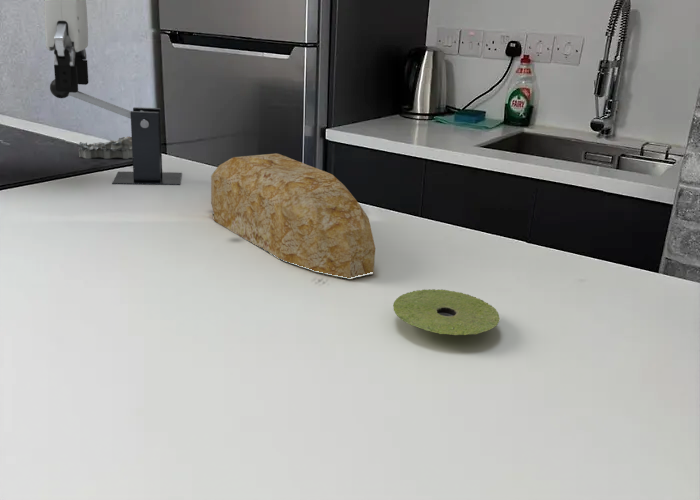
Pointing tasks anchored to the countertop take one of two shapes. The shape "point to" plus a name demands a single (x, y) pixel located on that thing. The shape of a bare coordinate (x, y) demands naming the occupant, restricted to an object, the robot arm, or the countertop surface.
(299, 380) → the countertop surface
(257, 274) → the countertop surface
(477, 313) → the green disc with hole
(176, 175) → the bracket
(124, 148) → the egg carton
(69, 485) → the countertop surface
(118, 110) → the lever
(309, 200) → the bread
